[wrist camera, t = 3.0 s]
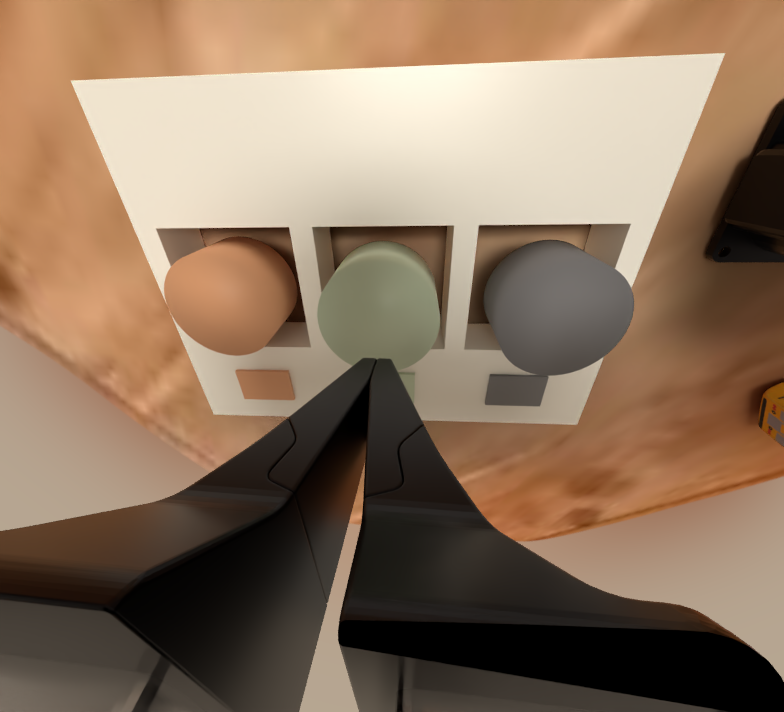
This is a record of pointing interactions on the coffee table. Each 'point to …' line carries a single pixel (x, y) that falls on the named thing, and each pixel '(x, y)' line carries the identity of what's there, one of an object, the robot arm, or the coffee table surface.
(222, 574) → the robot arm
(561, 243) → the charcoal button
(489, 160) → the panel
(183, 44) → the coffee table surface
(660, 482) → the coffee table surface
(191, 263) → the rust button
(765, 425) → the toy bus
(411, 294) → the sage button
